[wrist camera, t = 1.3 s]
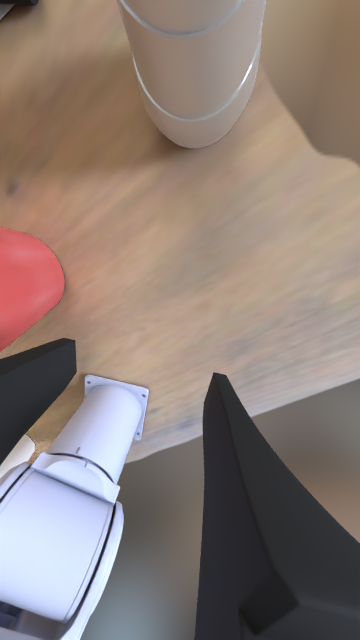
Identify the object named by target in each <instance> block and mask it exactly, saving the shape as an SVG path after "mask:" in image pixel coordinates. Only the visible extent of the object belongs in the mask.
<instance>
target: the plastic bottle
mask: <svg viewBox="0 0 360 640" xmlns="http://www.w3.org/2000/svg"><path fill="white" fill-rule="evenodd" d="M266 1H267V0H117V2H118V6H119V9H120V13H121V16H122V19H123V23H124V26H125V29H126V33H127V36H128V40H129V43H130V46H131V50H132V54H133V61H134V68H135V75H136V79H137V83H138V87H139V90H140V94H141V97H142V101H143V104H144V106H145V109H146V111H147V113H148V115H149V117H150V118H151V120H152V121H153V123H154V124H155V125H156V127H157V128H158V129H159V130H160V131H161V132H162V133H163V134H164V135H165V136H166V137H167V138H168V139H169V140H171V141H172V142H174V143H176V144H177V145H179V146H183V147H186V148H195V149H196V148H202V147H206V146H209V145H211V144H214V143H215V142H217V141H218V140H220V139H221V138H222V137H224V136H225V135H226V134H227V133H228V132H229V131H230V129H231V128H232V127H233V125H234V124H235V122H236V121H237V120H238V118H239V117H240V115H241V114H242V112H243V111H244V109H245V107H246V105H247V103H248V101H249V99H250V97H251V94H252V90H253V87H254V84H255V80H256V75H257V69H258V63H259V56H260V50H261V39H262V22H263V16H264V11H265V6H266Z"/></svg>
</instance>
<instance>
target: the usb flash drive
mask: <svg viewBox="0 0 360 640" xmlns="http://www.w3.org/2000/svg"><path fill="white" fill-rule="evenodd" d="M38 1H39V0H0V19H1V18H2V17H3V16H4V15H5V14H6V13H7V12H8V11H9V10H10V9H11V8H12V7H13V6H14V5H37V4H38Z"/></svg>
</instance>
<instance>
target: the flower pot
mask: <svg viewBox="0 0 360 640" xmlns="http://www.w3.org/2000/svg"><path fill="white" fill-rule="evenodd" d="M64 285H65V279H64V274H63V271H62V268H61V265H60V263H59V261H58V260H57V258H56V256H55V255H54V254H53V252H52V251H51V250H50V249H49V248H48V247H47V246H46V245H45V244H44V243H43V242H41V241H40V240H39V239H37V238H35V237H33V236H31V235H29V234H26V233H23V232H18V231H14V230H10V229H6V228H2V227H0V352H1V351H2V350H3V349H4V348H6V347H7V346H8V345H9V344H10V343H12V342H13V341H14V340H15V339H17V338H18V337H19V336H20V335H22V334H23V333H24V332H25V331H26V330H28V329H29V328H30V327H31V326H33V325H34V324H35V323H36V322H37V321H38V320H40V319H41V318H42V317H43V316H44V315H45V314H47V313H48V312H49V311H50V310H51V309H52V308H53V307H54V306H56V305H57V304H58V303H59V301H60V300H61V298H62V296H63V293H64Z"/></svg>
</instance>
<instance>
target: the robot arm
mask: <svg viewBox="0 0 360 640" xmlns="http://www.w3.org/2000/svg"><path fill="white" fill-rule="evenodd" d="M76 372H77V370H76V346H75V340H71V339H66V338H62V339H58V340H55V341H52V342H49V343H46V344H43V345H41V346H38V347H35V348H32V349H29V350H26V351H24V352H21V353H18V354H15V355H12V356H9V357H6V358H3V359H0V466H1V464H2V463H3V462H4V460H5V459H6V458H7V456H8V455H9V454H10V452H11V451H12V450H13V448H14V447H15V446H16V445H17V443H18V442H19V441H20V439H21V438H22V437H23V436H24V434H25V433H26V432H27V431H28V430H29V429H30V427H31V426H32V425H33V424H34V423H35V422H36V421H37V420H38V419H39V418H40V416H41V415H42V414H43V413H44V412H45V411H46V410H47V409H48V408H49V406H50V405H51V404H52V403H53V402H54V401H55V400H56V399H57V398H58V396H59V395H60V394H61V393H62V392H63V391H64V390H65V388H66V387H67V385H68V384H69V383H70V381H71V380H72V378H73V377H74V375H75V374H76ZM148 393H149V390H148V389H147V388H144V387H140V386H136V385H132V384H128V383H123V382H119V381H115V380H111V379H107V378H103V377H98V376H94V375H90V374H88V375H86V376H85V400H84V401H83V402H82V404H81V405H80V406H79V408H78V409H77V411H76V412H75V413H74V415H73V416H72V417H71V419H70V420H69V422H68V423H67V424H66V426H65V427H64V428H63V430H62V431H61V432H60V434H59V435H58V437H57V438H56V439H55V441H54V442H53V443H52V445H51V446H50V447H49V449H48V450H47V452H46V453H44V452H41V453H40V455H39V456H38V457H37V459H36V460H35V461H34V462H33V464H32V463H29V462H26V461H25V462H23V463H21V464H20V465H17V466H15V467H13V468H11V469H10V470H9V471H7V472H6V473H5V474H4V475H3V476H2V477H1V478H0V640H80V638H81V635H82V633H83V631H84V628H85V626H86V624H87V621H88V619H89V617H90V615H91V614H92V613H93V611H94V609H95V607H96V605H97V603H98V601H99V599H100V597H101V595H102V592H103V590H104V588H105V585H106V582H107V580H108V577H109V575H110V572H111V569H112V566H113V563H114V560H115V557H116V553H117V550H118V546H119V543H120V538H121V534H122V529H123V522H124V518H123V517H124V516H123V512H122V505H121V503H119V502H118V501H116V498H117V495H118V492H119V489H120V486H118V485H117V482H118V479H119V476H120V474H121V471H122V468H123V466H124V463H125V460H126V457H127V454H128V451H129V449H130V446H131V443H132V440H140V439H141V435H142V429H143V423H144V417H145V411H146V405H147V399H148ZM143 394H144V395H143ZM203 447H204V472H205V473H204V475H205V476H204V477H205V479H204V482H205V483H204V488H205V489H204V507H203V508H204V509H203V526H202V543H201V559H200V574H199V588H198V601H197V614H196V627H195V639H194V640H360V543H359V542H358V541H357V540H356V539H355V538H353V537H352V536H351V535H350V534H349V533H348V532H347V531H346V530H345V529H344V528H343V527H342V526H341V525H340V524H339V523H338V522H337V521H336V520H335V519H334V518H333V517H332V516H331V515H330V514H329V513H328V512H327V511H326V510H325V509H324V508H323V506H321V504H319V502H318V501H317V500H316V499H315V498H314V497H313V496H312V495H311V494H310V493H309V492H308V491H307V489H306V488H304V486H303V485H302V484H301V483H300V482H299V480H298V479H297V478H296V477H295V476H294V475H293V474H292V472H291V471H290V470H289V469H288V468H287V467H286V466H285V464H284V463H283V462H282V461H281V459H280V458H279V457H278V456H277V454H276V453H275V452H274V451H273V449H272V448H271V447H270V445H269V444H268V443H267V441H266V440H265V439H264V437H263V436H262V434H261V433H260V432H259V430H258V429H257V427H256V426H255V424H254V423H253V421H252V420H251V418H250V416H249V415H248V413H247V412H246V410H245V408H244V407H243V405H242V403H241V402H240V400H239V398H238V396H237V394H236V393H235V391H234V389H233V387H232V385H231V383H230V382H229V380H228V378H227V376H226V375H223V374H219V373H215V372H214V373H213V376H212V379H211V382H210V386H209V389H208V392H207V395H206V398H205V401H204V410H203Z"/></svg>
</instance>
